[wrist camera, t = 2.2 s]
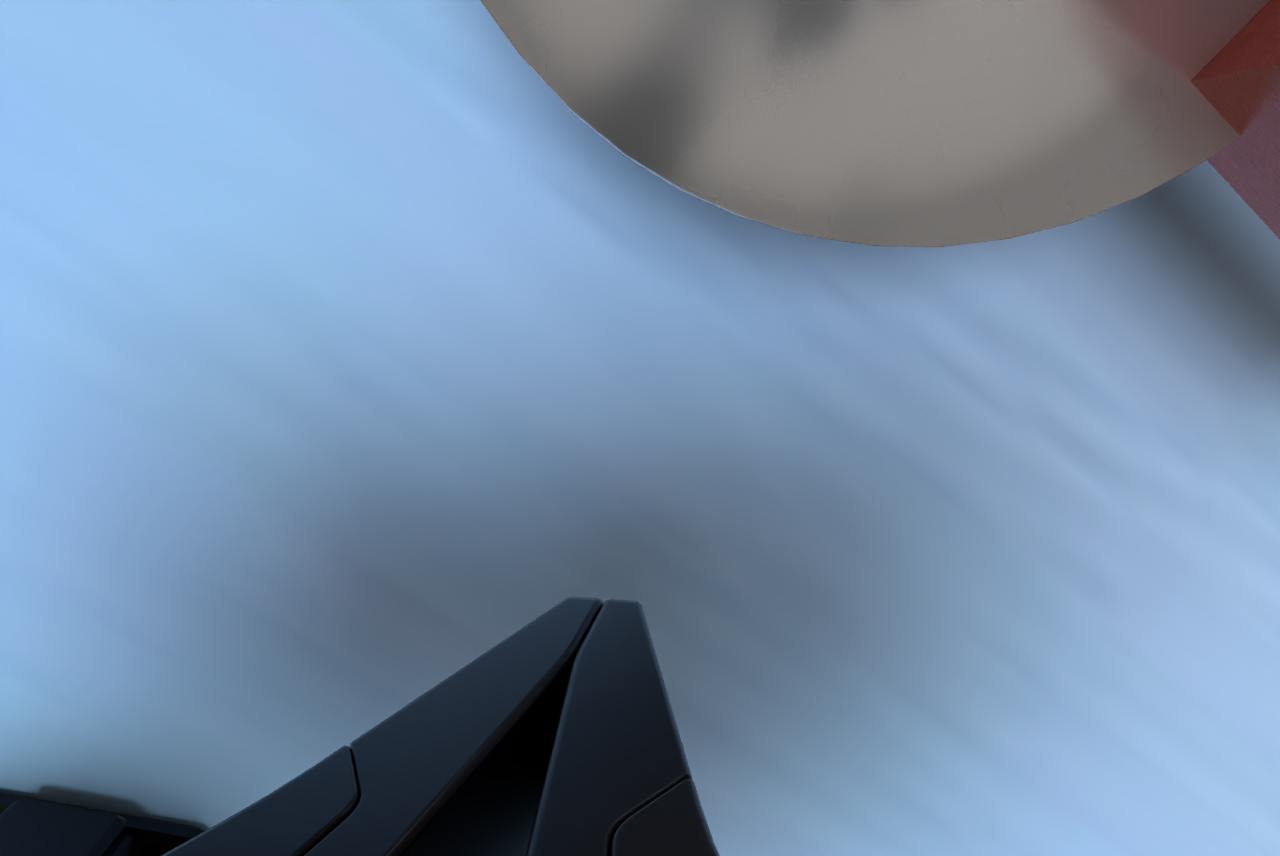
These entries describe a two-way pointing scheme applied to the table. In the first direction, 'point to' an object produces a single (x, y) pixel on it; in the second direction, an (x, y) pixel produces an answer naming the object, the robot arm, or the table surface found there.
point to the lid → (919, 105)
